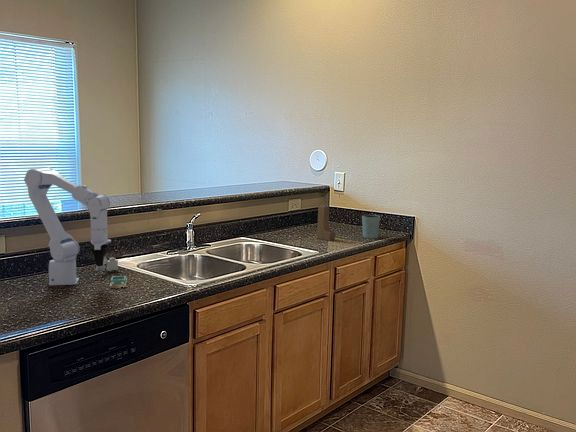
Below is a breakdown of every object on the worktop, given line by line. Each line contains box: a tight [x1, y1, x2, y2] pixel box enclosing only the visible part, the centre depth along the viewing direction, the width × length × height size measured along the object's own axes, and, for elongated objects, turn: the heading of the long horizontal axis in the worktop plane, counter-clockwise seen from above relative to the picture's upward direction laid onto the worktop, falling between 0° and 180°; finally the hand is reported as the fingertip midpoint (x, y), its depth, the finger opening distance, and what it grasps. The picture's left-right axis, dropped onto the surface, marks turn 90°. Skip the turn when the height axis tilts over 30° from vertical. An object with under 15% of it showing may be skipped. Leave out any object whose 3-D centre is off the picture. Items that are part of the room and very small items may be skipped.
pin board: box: [109, 275, 128, 289], centre depth 209 cm, size 6×9×2 cm, turn 13°
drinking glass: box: [361, 214, 381, 239], centre depth 312 cm, size 10×10×12 cm
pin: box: [95, 261, 105, 272], centre depth 205 cm, size 3×3×7 cm
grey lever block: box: [104, 255, 119, 272], centre depth 227 cm, size 7×2×8 cm, turn 133°
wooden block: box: [316, 204, 336, 242], centre depth 302 cm, size 9×4×18 cm, turn 47°
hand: (100, 264), depth 205 cm, fingers closed on pin, 3 cm apart
